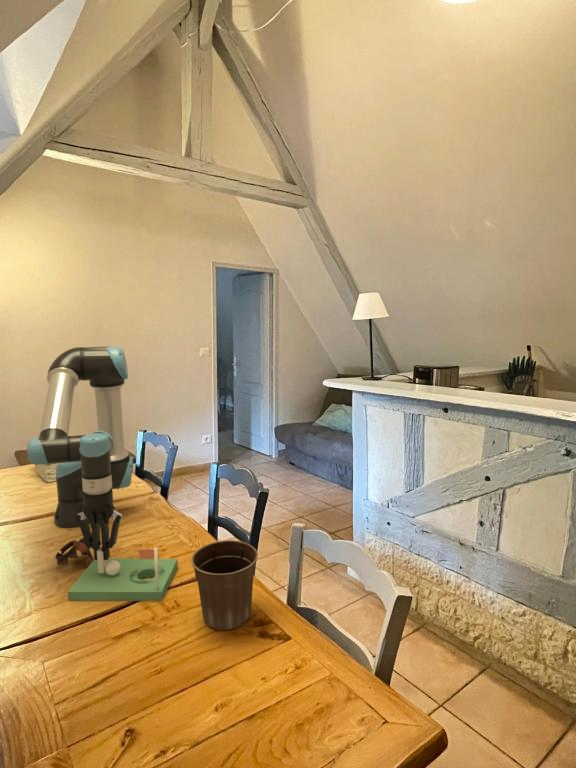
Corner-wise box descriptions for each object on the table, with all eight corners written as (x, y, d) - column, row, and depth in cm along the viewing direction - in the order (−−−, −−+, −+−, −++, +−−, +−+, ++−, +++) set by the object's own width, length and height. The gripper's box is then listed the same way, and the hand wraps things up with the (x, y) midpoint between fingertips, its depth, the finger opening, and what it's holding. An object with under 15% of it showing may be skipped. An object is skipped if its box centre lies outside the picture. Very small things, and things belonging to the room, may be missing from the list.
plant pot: (204, 646, 105) (202, 580, 103) (185, 607, 119) (183, 549, 117) (269, 624, 113) (268, 562, 110) (244, 590, 127) (243, 535, 125)
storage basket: (33, 471, 226) (30, 442, 224) (68, 465, 236) (66, 437, 234) (44, 485, 208) (42, 453, 206) (82, 477, 218) (80, 447, 216)
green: (68, 600, 122) (67, 591, 122) (95, 566, 139) (94, 558, 139) (161, 600, 122) (161, 592, 122) (177, 566, 139) (177, 558, 139)
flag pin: (142, 596, 124) (139, 547, 122) (159, 596, 124) (157, 547, 122) (141, 598, 123) (138, 549, 121) (159, 598, 123) (156, 549, 121)
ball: (106, 560, 132) (118, 555, 131) (112, 571, 132) (125, 567, 132) (100, 568, 128) (112, 563, 127) (106, 580, 129) (119, 575, 128)
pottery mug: (87, 573, 136) (70, 554, 134) (63, 584, 138) (45, 565, 136) (104, 544, 147) (89, 526, 145) (81, 554, 149) (66, 536, 147)
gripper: (67, 495, 123) (73, 577, 126) (115, 495, 123) (120, 577, 126) (80, 485, 131) (86, 563, 134) (126, 485, 130) (130, 563, 134)
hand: (102, 570), depth 130 cm, fingers closed
